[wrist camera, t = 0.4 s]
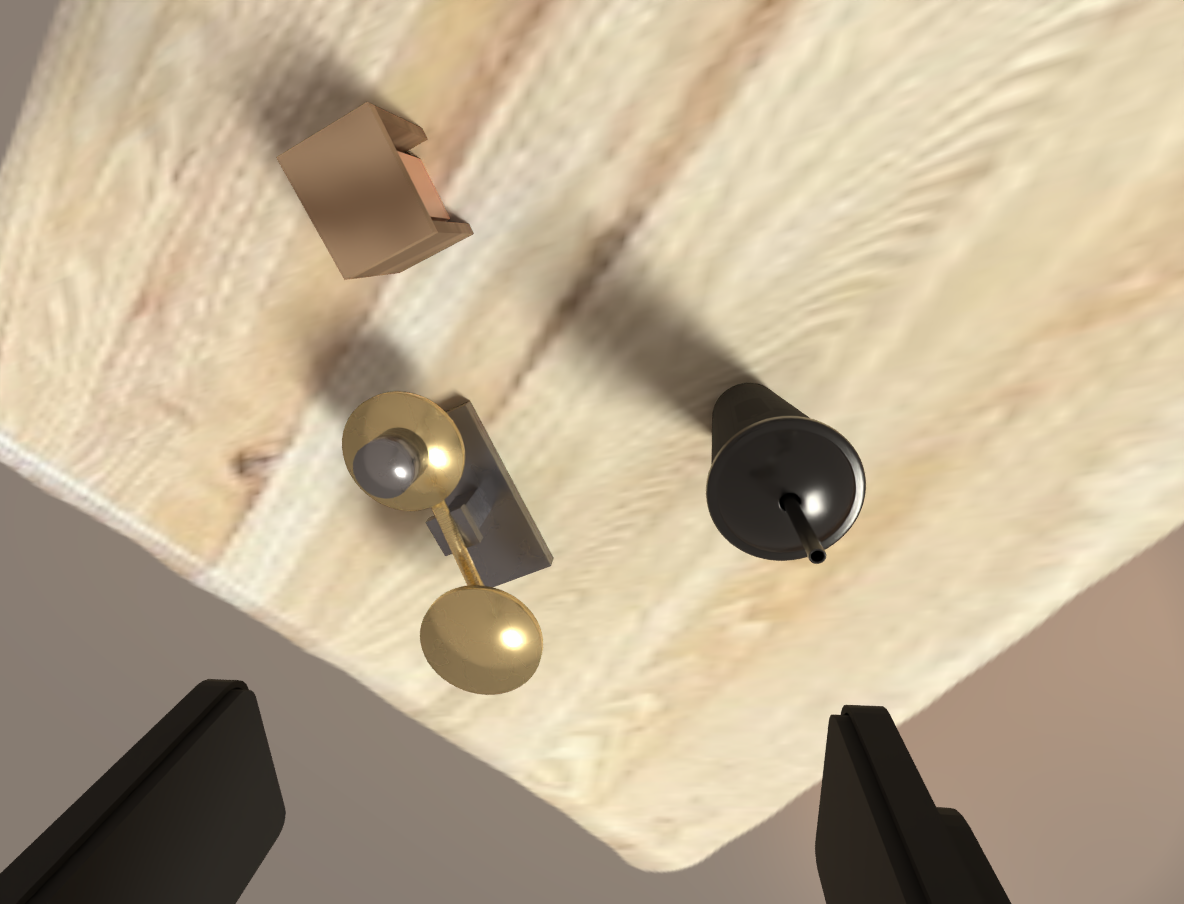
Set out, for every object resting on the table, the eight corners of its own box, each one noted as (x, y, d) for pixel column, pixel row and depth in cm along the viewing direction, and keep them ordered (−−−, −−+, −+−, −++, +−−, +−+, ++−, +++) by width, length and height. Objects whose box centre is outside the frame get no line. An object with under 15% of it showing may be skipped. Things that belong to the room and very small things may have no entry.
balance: (365, 397, 45) (288, 439, 35) (457, 354, 43) (400, 386, 34) (494, 620, 50) (457, 708, 41) (580, 589, 49) (562, 674, 39)
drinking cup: (673, 441, 44) (686, 593, 25) (722, 345, 41) (778, 433, 22) (768, 483, 44) (852, 665, 25) (823, 390, 41) (962, 515, 23)
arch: (346, 172, 40) (276, 157, 33) (422, 128, 39) (366, 101, 31) (399, 272, 42) (344, 279, 34) (473, 233, 40) (433, 232, 33)
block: (370, 187, 40) (328, 180, 35) (421, 159, 39) (385, 146, 34) (400, 245, 41) (363, 246, 36) (450, 219, 40) (420, 215, 35)
